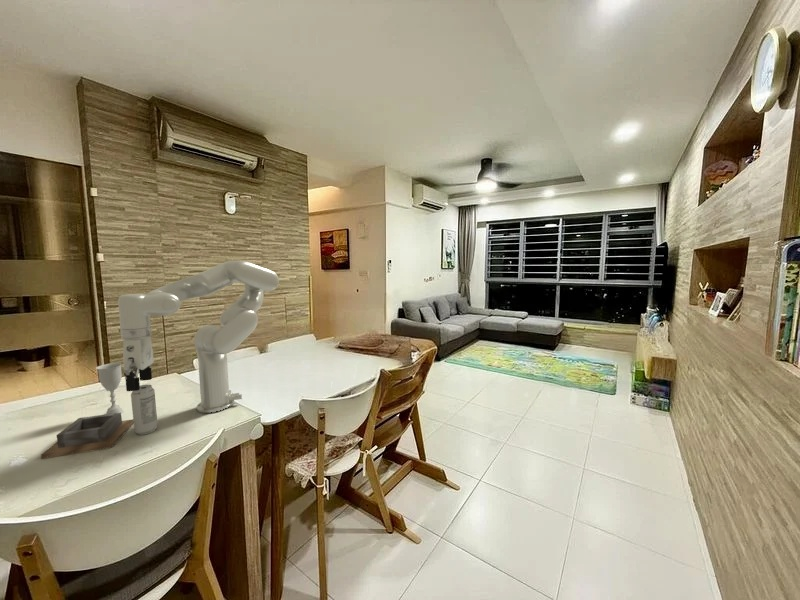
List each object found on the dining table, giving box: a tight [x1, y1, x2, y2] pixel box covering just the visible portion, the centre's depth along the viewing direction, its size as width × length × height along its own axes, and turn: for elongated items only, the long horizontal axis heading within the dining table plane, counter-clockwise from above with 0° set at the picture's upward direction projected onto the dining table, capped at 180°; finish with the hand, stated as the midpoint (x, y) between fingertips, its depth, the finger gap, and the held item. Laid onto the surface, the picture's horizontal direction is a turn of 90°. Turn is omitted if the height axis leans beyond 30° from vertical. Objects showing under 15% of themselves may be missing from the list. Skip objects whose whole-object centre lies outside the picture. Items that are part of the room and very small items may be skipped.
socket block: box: [40, 413, 134, 459], centre depth 100 cm, size 16×16×5 cm
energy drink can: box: [130, 384, 158, 436], centre depth 104 cm, size 6×6×15 cm
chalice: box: [95, 362, 124, 415], centre depth 116 cm, size 7×7×18 cm
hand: (139, 385), depth 103 cm, fingers open, 9 cm apart
